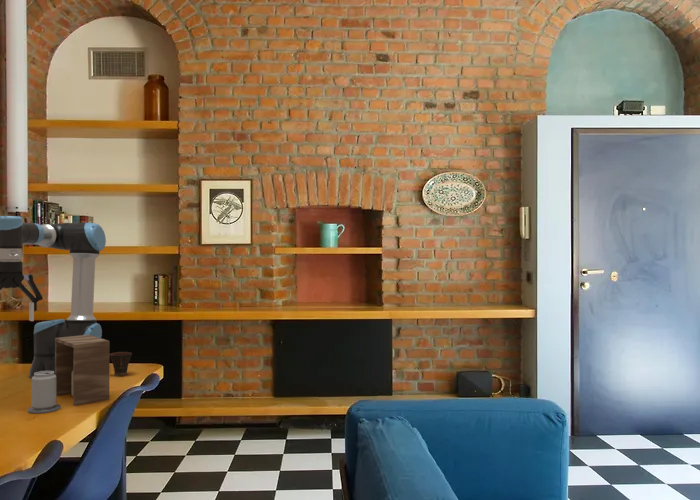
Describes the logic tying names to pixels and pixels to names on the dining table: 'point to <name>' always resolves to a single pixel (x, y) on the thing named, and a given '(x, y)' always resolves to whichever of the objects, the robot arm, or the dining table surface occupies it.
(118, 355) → the cup
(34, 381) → the can
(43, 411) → the coaster
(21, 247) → the robot arm
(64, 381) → the wooden box
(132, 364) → the dining table surface
